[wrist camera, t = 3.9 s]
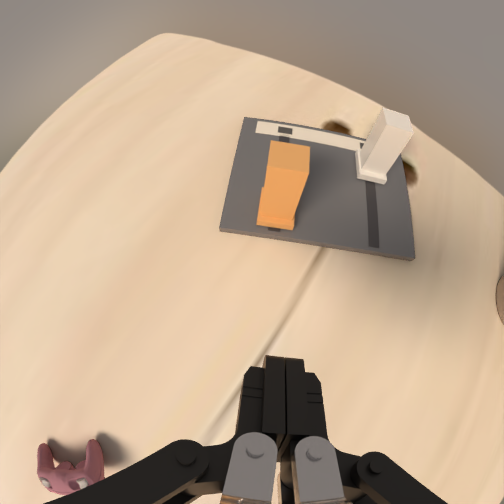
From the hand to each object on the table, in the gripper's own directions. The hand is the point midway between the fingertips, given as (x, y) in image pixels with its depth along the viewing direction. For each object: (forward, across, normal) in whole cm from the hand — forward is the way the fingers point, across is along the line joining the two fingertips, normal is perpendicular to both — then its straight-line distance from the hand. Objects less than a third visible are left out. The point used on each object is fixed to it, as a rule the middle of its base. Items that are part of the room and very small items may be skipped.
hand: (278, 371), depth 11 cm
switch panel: (+29, -6, -4) cm, 30 cm away
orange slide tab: (+24, 0, 0) cm, 24 cm away
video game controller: (+1, +18, +26) cm, 31 cm away
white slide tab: (+30, -12, -7) cm, 33 cm away
